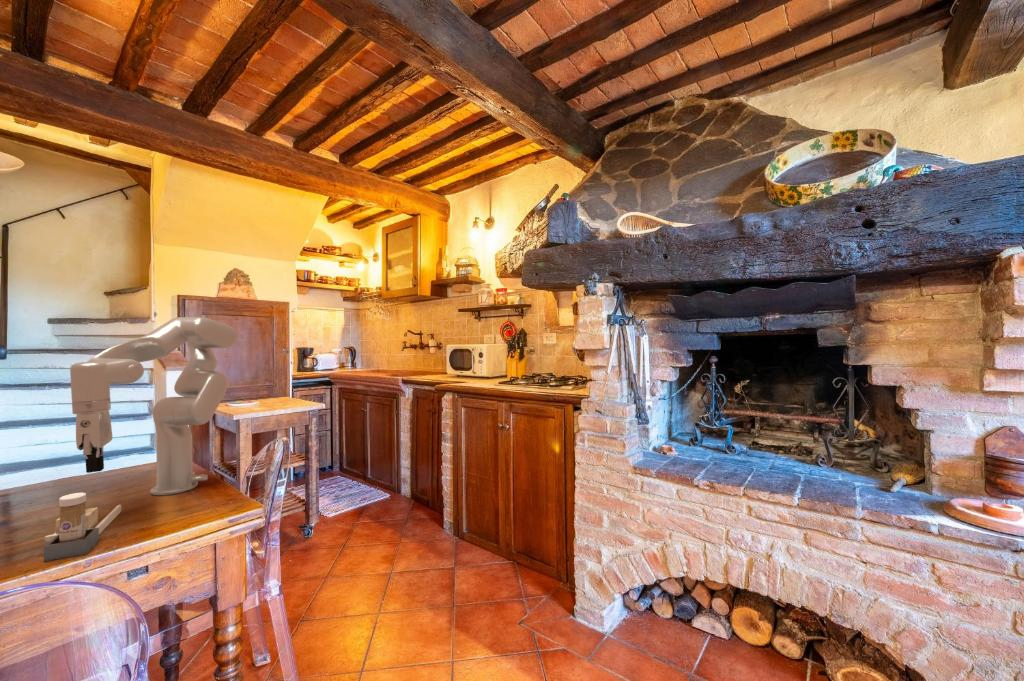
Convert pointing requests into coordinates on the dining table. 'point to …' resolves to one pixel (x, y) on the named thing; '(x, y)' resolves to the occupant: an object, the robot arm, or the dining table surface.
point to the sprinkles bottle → (72, 517)
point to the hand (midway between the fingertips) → (95, 470)
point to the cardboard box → (90, 518)
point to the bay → (101, 525)
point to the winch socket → (71, 546)
